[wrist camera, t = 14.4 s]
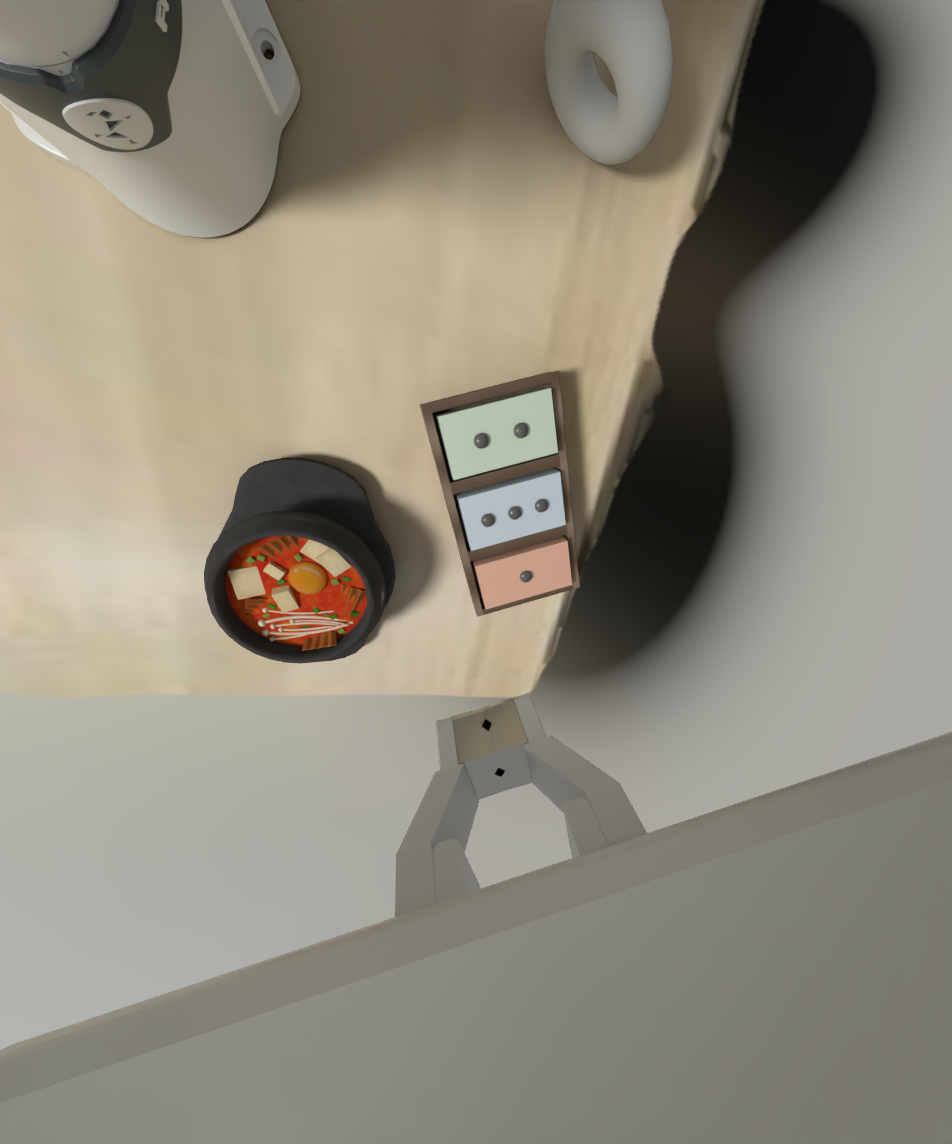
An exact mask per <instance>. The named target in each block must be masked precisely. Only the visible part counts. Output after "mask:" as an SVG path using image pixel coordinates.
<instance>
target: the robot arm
mask: <svg viewBox="0 0 952 1144" xmlns="http://www.w3.org/2000/svg"><path fill="white" fill-rule="evenodd" d="M267 49H271V50H273V51H274V53H275V54H274V57H273V59H271V60H268V59H266V58H265V57H264V52H265V51H266V50H267ZM299 97H300V82H299V78H298V75H297V72H296V70H295V67H294V65H293V63H292V61H291V58H290V56H289V54H288V51H287V49H286V47H285V45H284V42H283V40H282V38H281V35H280V33H279V31H278V29H277V26H276V24H275V22H274V19H273V17H272V15H271V13H270V10H269V8H268V6H267V3H266V1H265V0H0V103H1V104H2V105H3V106H4V107H6V108H7V109H8V110H9V111H10V112H11V113H12V115H13V118H14V120H15V122H16V124H17V126H18V127H19V129H20V130H21V131H22V133H23V134H24V135H25V136H26V137H27V138H28V139H29V140H31V141H32V142H33V143H34V144H35V145H37V146H38V147H39V148H40V149H42V150H43V151H44V152H46V153H47V154H49V155H51V156H52V157H54V158H56V159H58V160H60V161H62V162H64V163H66V164H68V165H70V166H73V167H75V168H77V169H79V170H82V171H84V172H86V173H87V174H88V175H90V176H91V177H92V178H94V179H95V180H96V181H97V182H99V183H100V184H101V185H102V186H103V187H104V188H105V189H106V190H108V191H109V192H110V193H111V194H112V195H113V196H114V197H115V198H117V199H118V200H119V201H120V202H121V203H123V204H124V205H125V206H126V207H128V208H129V209H130V210H132V211H133V212H134V213H136V214H137V215H139V216H140V217H142V218H144V219H145V220H147V221H149V222H151V223H152V224H154V225H157V226H159V227H161V228H163V229H166V230H168V231H171V232H174V233H177V234H181V235H185V236H190V237H199V238H208V237H217V236H222V235H225V234H228V233H231V232H233V231H235V230H237V229H239V228H241V227H242V226H244V225H245V224H246V223H248V222H249V221H250V220H251V219H252V218H253V217H254V216H255V215H256V214H257V212H258V211H259V210H260V208H261V207H262V205H263V204H264V202H265V200H266V198H267V196H268V194H269V192H270V189H271V186H272V183H273V179H274V175H275V170H276V164H277V156H278V147H279V141H280V137H281V133H282V130H283V129H284V127H285V125H286V124H287V122H288V121H289V119H290V117H291V116H292V114H293V112H294V110H295V108H296V106H297V103H298V101H299ZM436 733H437V743H438V752H439V763H440V771H437V772H435V774H434V776H433V778H432V780H431V782H430V785H429V787H428V789H427V791H426V793H425V796H424V797H423V799H422V801H421V804H420V806H419V808H418V810H417V812H416V814H415V816H414V818H413V820H412V823H411V825H410V827H409V829H408V831H407V833H406V835H405V837H404V839H403V842H402V844H401V846H400V848H399V850H398V852H397V854H396V897H395V917H394V918H391V919H389V920H385V921H382V922H379V923H377V924H373V925H370V926H367V927H364V928H361V929H358V930H355V931H352V932H349V933H346V934H343V935H340V936H337V937H334V938H332V939H328V940H326V941H322V942H319V943H316V944H313V945H310V946H307V947H304V948H301V949H298V950H295V951H292V952H289V953H286V954H283V955H280V956H278V957H274V958H271V959H268V960H265V961H262V962H259V963H256V964H253V965H250V966H247V967H244V968H241V969H239V970H236V971H232V972H229V973H226V974H223V975H220V976H217V977H214V978H212V979H208V980H206V981H203V982H200V983H196V984H193V985H190V986H187V987H184V988H181V989H178V990H175V991H172V992H169V993H166V994H163V995H160V996H157V997H154V998H151V999H148V1000H145V1001H142V1002H139V1003H136V1004H133V1005H130V1006H127V1007H124V1008H121V1009H118V1010H115V1011H112V1012H109V1013H106V1014H103V1015H100V1016H97V1017H94V1018H91V1019H88V1020H85V1021H82V1022H79V1023H76V1024H73V1025H70V1026H67V1027H64V1028H61V1029H58V1030H55V1031H52V1032H49V1033H46V1034H42V1035H40V1036H36V1037H33V1038H30V1039H27V1040H24V1041H21V1042H19V1043H16V1044H13V1045H10V1046H8V1047H6V1048H4V1049H2V1050H0V1144H952V732H950V733H947V734H944V735H941V736H938V737H935V738H932V739H929V740H926V741H923V742H920V743H917V744H914V745H911V746H908V747H905V748H902V749H899V750H896V751H893V752H890V753H887V754H884V755H881V756H878V757H875V758H872V759H869V760H866V761H863V762H860V763H857V764H854V765H851V766H848V767H845V768H842V769H839V770H836V771H833V772H830V773H827V774H824V775H821V776H818V777H815V778H812V779H809V780H806V781H803V782H800V783H797V784H794V785H791V786H788V787H785V788H782V789H779V790H776V791H773V792H770V793H767V794H764V795H761V796H758V797H755V798H752V799H749V800H746V801H743V802H740V803H737V804H734V805H731V806H728V807H725V808H722V809H719V810H716V811H713V812H710V813H707V814H704V815H701V816H698V817H695V818H692V819H689V820H686V821H683V822H680V823H677V824H674V825H671V826H668V827H665V828H662V829H659V830H656V831H653V832H650V833H647V832H646V830H645V829H644V827H643V825H642V823H641V821H640V819H639V818H638V816H637V814H636V812H635V810H634V808H633V806H632V805H631V803H630V801H629V799H628V797H627V795H626V794H625V792H624V790H623V788H622V786H621V785H620V783H619V782H617V781H616V780H615V779H613V778H612V777H610V776H609V775H607V774H606V773H604V772H603V771H602V770H600V769H599V768H597V767H596V766H594V765H593V764H591V763H590V762H589V761H587V760H585V759H584V758H583V757H582V756H580V755H578V754H577V753H576V752H574V751H573V750H571V749H570V748H569V747H567V746H566V745H564V744H563V743H561V742H560V741H559V740H557V739H556V738H554V737H553V736H549V737H547V736H546V734H545V731H544V729H543V726H542V724H541V721H540V719H539V717H538V714H537V712H536V709H535V707H534V704H533V702H532V700H531V697H530V696H529V694H524V695H521V696H518V697H515V698H510V699H507V700H504V701H501V702H498V703H495V704H492V705H489V706H485V707H483V708H481V709H477V710H474V711H470V712H466V713H463V714H459V715H455V716H452V717H449V718H445V719H442V720H438V721H437V722H436ZM529 783H533V784H534V785H535V786H536V787H537V788H538V789H539V790H540V791H542V793H543V794H544V795H546V796H547V797H548V798H549V799H550V800H551V801H552V802H553V803H554V804H555V805H556V806H557V807H558V808H559V809H560V810H561V811H562V812H563V813H564V815H565V821H566V826H567V832H568V837H569V843H570V849H571V854H572V857H573V858H572V859H568V860H565V861H563V862H560V863H557V864H553V865H550V866H547V867H544V868H541V869H538V870H535V871H533V872H530V873H526V874H524V875H520V876H518V877H514V878H511V879H509V880H506V881H502V882H499V883H496V884H493V885H491V886H487V887H484V888H482V889H480V885H479V883H478V881H477V879H476V877H475V874H474V872H473V871H472V868H471V866H470V864H469V862H468V860H467V858H466V856H465V854H464V852H465V849H466V845H467V841H468V838H469V834H470V831H471V828H472V824H473V821H474V817H475V814H476V810H477V807H478V803H479V801H478V800H479V799H482V798H485V797H488V796H491V795H494V794H496V793H499V792H502V791H505V790H508V789H512V788H515V787H519V786H522V785H526V784H529Z"/></svg>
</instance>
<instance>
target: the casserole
mask: <svg viewBox="0 0 952 1144" xmlns="http://www.w3.org/2000/svg"><path fill="white" fill-rule="evenodd" d="M394 580H395V569H394V561H393V557H392V554H391V551H390V548H389V546H388V544H387V542H386V540H385V539H384V537H383V535H382V533H381V531H380V530H379V528H378V526H377V524H376V522H375V521H374V517H373V514H372V511H371V507H370V504H369V501H368V499H367V496H366V493H365V491H364V489H363V487H362V486H361V485H360V484H359V483H358V482H357V480H356V479H355V478H354V477H352V476H351V475H349V474H347V473H346V472H344V471H342V470H341V469H339V468H336V467H333V466H331V465H328V464H325V463H323V462H318V461H313V460H308V459H303V458H281V459H275V460H270V461H264V462H262V463H259V464H257V465H255V466H253V467H250V468H249V469H248V470H247V471H246V472H245V473H244V474H243V475H242V476H241V478H240V480H239V484H238V487H237V491H236V495H235V500H234V505H233V510H232V512H231V514H230V516H229V518H228V520H227V522H226V524H225V526H224V528H223V530H222V532H221V534H220V536H219V538H218V540H217V541H216V542H215V543H214V545H213V547H212V549H211V551H210V553H209V555H208V557H207V560H206V565H205V570H204V582H205V590H206V593H207V600H208V603H209V606H210V609H211V612H212V614H213V616H214V618H215V619H216V621H217V623H218V624H219V626H220V627H221V628H222V629H223V630H224V631H225V633H226V634H227V635H228V636H229V637H230V638H231V639H233V640H234V641H235V642H237V643H238V644H239V645H241V646H242V647H244V648H246V649H247V650H249V651H251V652H253V653H255V654H257V655H260V656H263V657H265V658H268V659H272V660H276V661H281V662H288V663H310V662H320V661H331V660H336V659H340V658H345V657H347V656H349V655H352V654H354V653H356V652H357V651H358V650H359V649H361V648H362V647H363V646H364V643H365V641H366V639H367V636H368V635H369V634H370V633H371V632H372V630H373V629H374V627H375V626H376V625H377V623H378V622H379V620H380V618H381V615H382V613H383V610H384V608H385V606H386V605H387V603H388V601H389V599H390V596H391V594H392V591H393V587H394Z"/></svg>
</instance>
